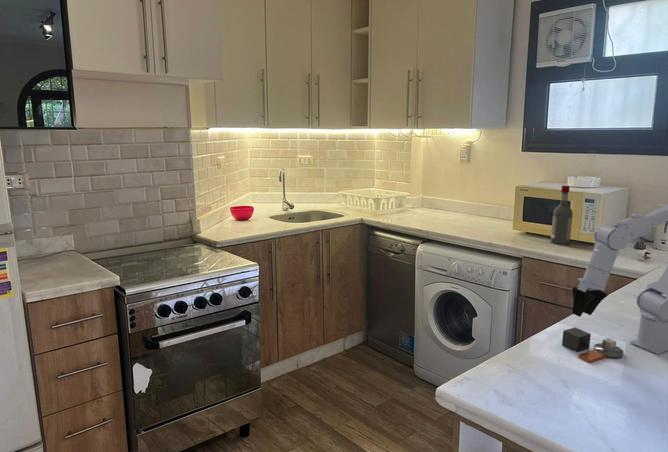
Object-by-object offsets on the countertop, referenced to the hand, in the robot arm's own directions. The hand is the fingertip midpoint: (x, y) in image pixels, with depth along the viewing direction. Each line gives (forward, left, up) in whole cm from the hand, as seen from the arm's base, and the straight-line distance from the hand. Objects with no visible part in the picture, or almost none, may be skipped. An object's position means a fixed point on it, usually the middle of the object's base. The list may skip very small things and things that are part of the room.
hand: (581, 314), depth 137 cm
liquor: (-101, -87, -11) cm, 134 cm away
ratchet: (-3, +5, -11) cm, 12 cm away
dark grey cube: (-1, -1, -11) cm, 11 cm away
